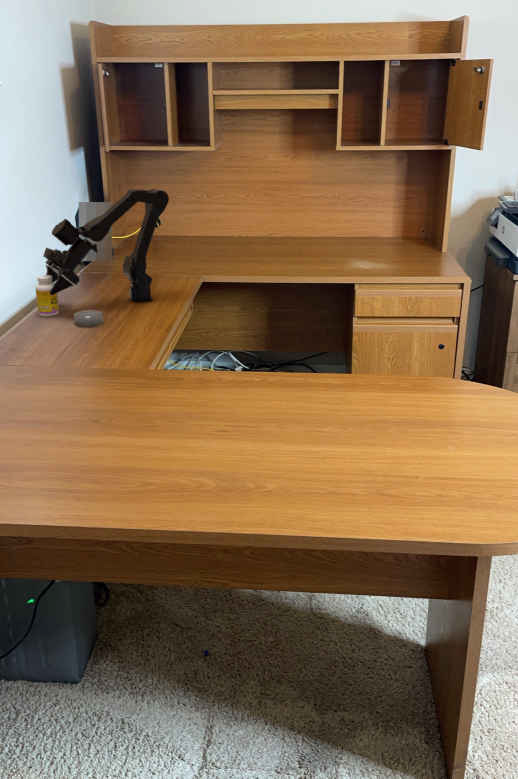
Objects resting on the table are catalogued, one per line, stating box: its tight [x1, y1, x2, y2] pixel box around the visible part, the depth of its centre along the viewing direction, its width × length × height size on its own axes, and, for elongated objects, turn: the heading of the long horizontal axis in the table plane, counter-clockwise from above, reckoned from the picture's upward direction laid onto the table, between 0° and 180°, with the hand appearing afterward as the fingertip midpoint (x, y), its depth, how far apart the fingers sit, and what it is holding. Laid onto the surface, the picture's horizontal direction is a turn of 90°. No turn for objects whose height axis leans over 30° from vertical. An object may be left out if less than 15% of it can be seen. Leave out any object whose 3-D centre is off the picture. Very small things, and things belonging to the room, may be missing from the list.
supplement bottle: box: [35, 274, 60, 318], centre depth 235 cm, size 7×7×13 cm
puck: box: [73, 309, 104, 328], centre depth 228 cm, size 9×9×3 cm
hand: (46, 291), depth 234 cm, fingers open, 9 cm apart
